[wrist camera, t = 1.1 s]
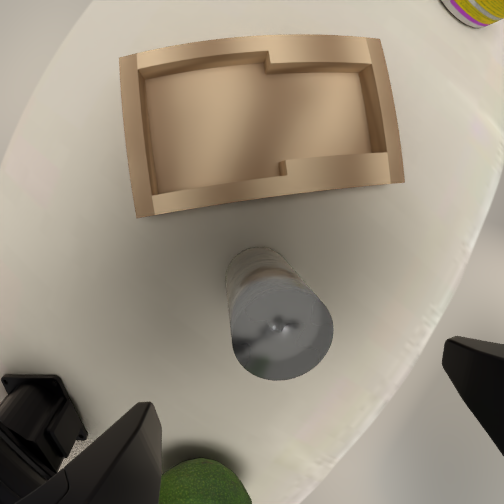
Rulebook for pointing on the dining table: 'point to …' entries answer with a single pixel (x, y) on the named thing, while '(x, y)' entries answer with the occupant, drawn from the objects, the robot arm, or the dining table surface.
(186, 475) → the avocado
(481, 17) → the supplement bottle
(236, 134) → the light brown wooden tray
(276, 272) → the grey metal peg
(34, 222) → the dining table surface
